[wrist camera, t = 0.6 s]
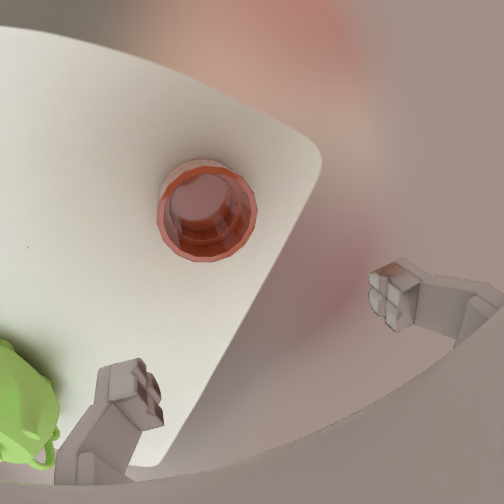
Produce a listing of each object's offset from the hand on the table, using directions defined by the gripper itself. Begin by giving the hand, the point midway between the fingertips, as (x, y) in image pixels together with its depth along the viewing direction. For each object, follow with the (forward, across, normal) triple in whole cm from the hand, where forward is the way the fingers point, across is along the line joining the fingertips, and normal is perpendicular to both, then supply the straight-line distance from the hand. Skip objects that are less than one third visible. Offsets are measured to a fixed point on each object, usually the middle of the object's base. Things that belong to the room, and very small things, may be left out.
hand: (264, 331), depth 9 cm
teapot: (+16, +28, +11) cm, 34 cm away
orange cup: (+16, 0, 0) cm, 16 cm away
